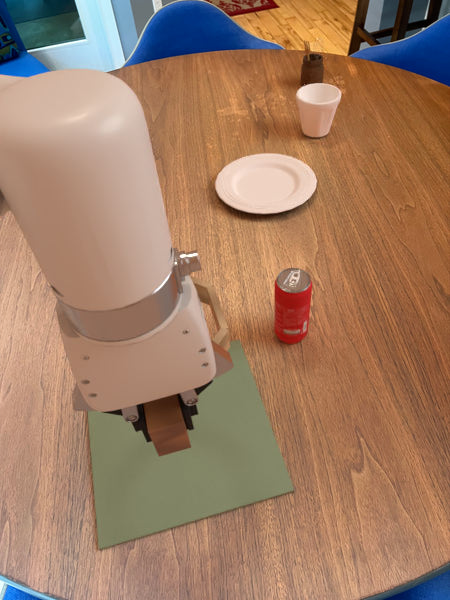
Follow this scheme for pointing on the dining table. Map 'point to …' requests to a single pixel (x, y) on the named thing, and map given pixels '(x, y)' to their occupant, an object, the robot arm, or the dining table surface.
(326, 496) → the dining table surface
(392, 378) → the dining table surface
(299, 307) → the beverage can
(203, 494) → the mat
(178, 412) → the hoop
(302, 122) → the cup
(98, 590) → the dining table surface
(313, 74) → the utensil holder
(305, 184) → the plate
